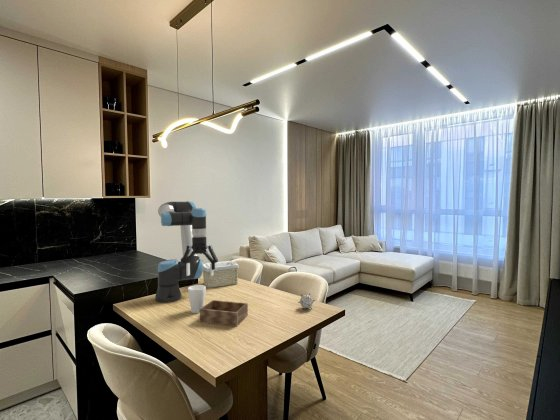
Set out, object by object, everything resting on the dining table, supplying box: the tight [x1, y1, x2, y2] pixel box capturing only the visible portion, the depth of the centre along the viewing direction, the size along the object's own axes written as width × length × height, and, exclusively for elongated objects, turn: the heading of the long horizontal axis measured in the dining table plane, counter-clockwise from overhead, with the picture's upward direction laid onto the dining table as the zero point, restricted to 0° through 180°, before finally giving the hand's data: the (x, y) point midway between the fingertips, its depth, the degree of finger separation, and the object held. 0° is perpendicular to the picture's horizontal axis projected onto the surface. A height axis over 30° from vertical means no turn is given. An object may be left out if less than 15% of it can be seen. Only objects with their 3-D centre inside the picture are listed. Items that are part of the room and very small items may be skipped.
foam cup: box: [187, 284, 207, 314], centre depth 164 cm, size 10×9×13 cm
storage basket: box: [202, 260, 240, 289], centre depth 217 cm, size 24×16×15 cm
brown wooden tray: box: [199, 299, 249, 327], centre depth 153 cm, size 20×14×6 cm
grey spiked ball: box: [297, 293, 316, 311], centre depth 168 cm, size 9×8×10 cm
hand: (199, 275), depth 163 cm, fingers open, 13 cm apart
